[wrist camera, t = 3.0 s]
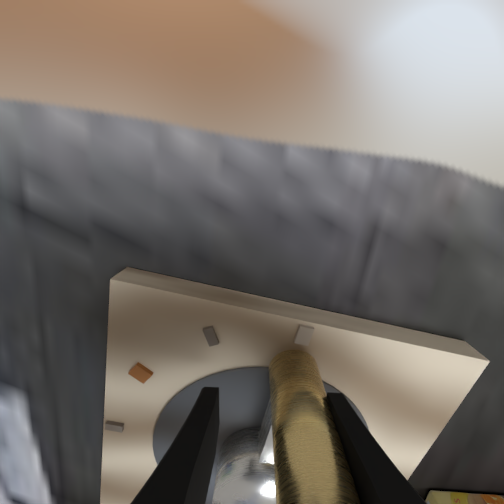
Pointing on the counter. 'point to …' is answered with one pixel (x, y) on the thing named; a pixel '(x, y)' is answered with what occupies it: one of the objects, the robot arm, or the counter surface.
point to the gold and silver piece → (288, 445)
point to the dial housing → (260, 371)
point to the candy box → (462, 498)
